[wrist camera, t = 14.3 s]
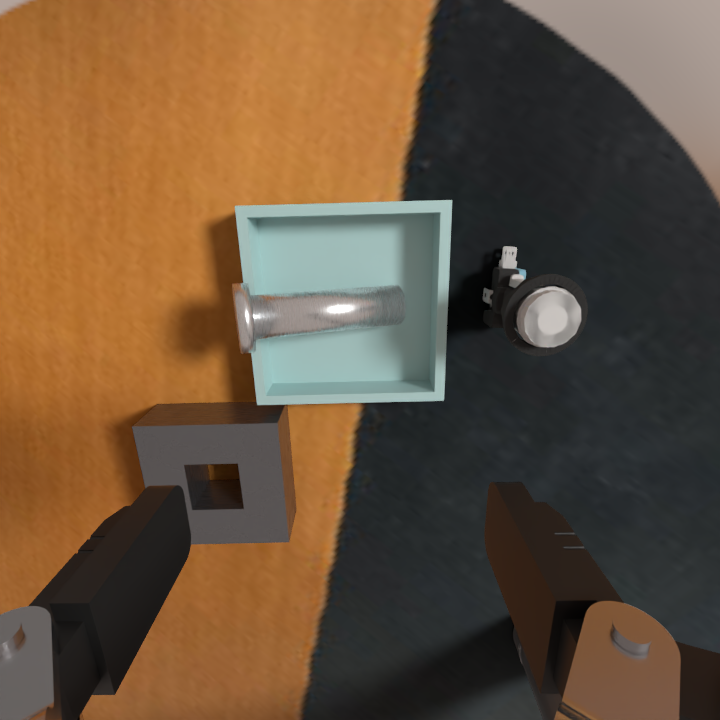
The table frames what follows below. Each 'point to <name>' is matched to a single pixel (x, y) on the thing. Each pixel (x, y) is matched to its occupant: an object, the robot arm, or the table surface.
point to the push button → (534, 308)
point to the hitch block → (223, 446)
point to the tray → (351, 270)
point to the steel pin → (313, 312)
